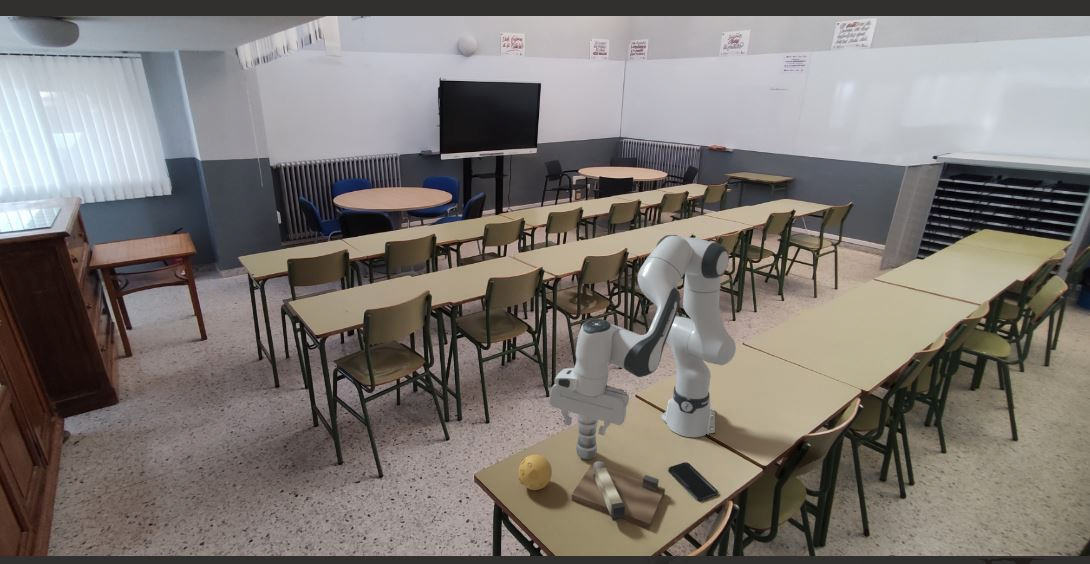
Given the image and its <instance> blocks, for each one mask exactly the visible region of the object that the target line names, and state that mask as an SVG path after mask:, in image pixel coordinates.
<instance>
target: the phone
mask: <svg viewBox="0 0 1090 564" xmlns="http://www.w3.org/2000/svg"><path fill="white" fill-rule="evenodd" d="M667 471H668V473H669V474H670V475H671V476H672V477H673V478H674V479H675V480H676V481H677V482H678V483H679V484H680V485H681V486H682V488H684V490H686V491H687V493H688V494H689V495H691V496H692V498H693V499H694V500H696V501H697V502H703V501H707V500H709V499H712V498H715V497H717V496H718V495H719V490H718V489H717V488H715V487H714V486H713V484H712V483H711V482H709V481H708V480H707V478H705V477H704V476H703V475H702V474H701V473H700V472H699V471H698V470H697V469H696V468H695V467H694V466H693V465H691V464H690V462H686V461H685V462H681V463H679V464H675V465H671V466H669V467H668V470H667Z"/></svg>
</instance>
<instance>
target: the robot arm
mask: <svg viewBox="0 0 1090 564" xmlns="http://www.w3.org/2000/svg"><path fill="white" fill-rule="evenodd" d="M729 260H730V254H729V252H728V249H727V247H725V246H724V245H722V244H720V243H719V242H718V243H717V242H716V241H715V242H712V241H709V240H706V239H702V238H699V237H690V236H681V235H678V234H668V235H664V236H663V237H661V238H660V239H659V240H658V242H657V244H656V246H655V248H654V249H653V250H652V251H651V252H650V254H649V255H648V257H647V258H646V259H645V261H644V262H643V264H642V265H641V267H640V268H639V270H638V274H637V284H638V287H639V289H640V290H641V292H642V294H643V295H644V296H645V297H646V298H647V299H648V300H649V301H650V302H651V303H652V304H654V305H655V306H656V307H657V308H656V312H655V313H654V314H655V315H654V317H653V319H652V322H651V325H650V327H649V330H648V331H647V333H645V334H638V333H636V332H633V331H631V330H628V329H627V328H623V327H621V326H618V325H615V324H611V323H610V322H609V321H608V320H606V319H603V318H591V319H588V320H585V321H584V322H583V323H582V325H581V327H580V330H579V332H578V336H577V340H576V341H577V342H576V346H575V347H576V348H575V358H576V360H575V365H574V367H569V368H563V369H561V370H560V371H559V372H558V374H557V375H556V377H554V384H553V385H552V386H551V389H550V393H549V398H548V403H549V405H550V407H552V408H556V409H559V410H561V415H562V417H563V419H564V423H563V424H564V425H565V426H569V427H570V426H571V424H572V420H573V418H572V416H570V415H569V413H573V414H576V415H578V414H580V415H583V416H587V417H591V418H594V419H598V421H601V422H602V421H603V424H604V425H600V426H599V428H598V435H601V436H605V435H606V431H607V428H609V426H610V425H611V424H614V425H615V426H620V425H622V424H623V423H624V422H625V420H626V418H627V406H629V405H628V404H629V402H630V401H629V400H630V396H629V394H628V393H627V392H626V391H625V390H624V389H622V388H617V387H614V386H610V385H608V381H609V375H610V372H609V371H610V370H609V365H610V364H612V365H614V366H616V367H618V368H620V369H621V368H622V369H623V370H625V371H626V372H628V373H629V374H632V375H633V376H635V377H637V378H643V377H647V376H649V375H651V374H653V373H655V371H656V370H657V369H658V367H659V365H660V362H661V358H662V355H663V351H664V347H665V344H666V343H667V344H668V346H669V348H670V350H671V352H672V355H673V358H674V360H675V361H674V362H675V366H676V367H675V368H676V375H675V376H676V377H675V386H674V387H673V391H672V396H671V398H669V399H668V402H667V406H666V407H667V408H666V411H664V413H662V414H661V416H660V420H661V421H662V422H664V421H665V422H666V423H667V424H666V423H665V422H664V423H665V424H666V425H667V428H669V430H671V431H672V432H673V433H675V434H677V435H679V436H683V437H686V438H687V437H688V438H700V437H703V436H707V435H709V434H708V433H714V432H715V433H716V411H715V410H716V409H715V410H712V409H714V407H712V408H711V409H710V407H711V399H710V397H711V396H710V383H711V370H710V368H709V367H708V365H707V364H706V363H709V364H713V365H718V366H724V365H727V364H728V363H730V362H731V361H732V360H733V358H734V357H735V354H736V350H737V348H736V342H735V339H734V338H733V337H732V336H731V334H729V331H727V329H726V326H725V324H724V322H723V319H722V316H721V312H720V297H721V296H720V295H721V283H722V278H721V277H722V275H724V274H725V273H726V270H727V268H728V267H729V266H728V265H729ZM683 277H684V282H683V296H682V297H683V298H682V307H683V310H684V311H685V313H686V315H688V317H684V316H678V315H677V313H678V311H679V308H680V303H681V293H680V291H679V290H678V286H679V283H680V282H681V280H682V279H683ZM689 317H690V318H689ZM714 411H715V412H714ZM568 412H569V413H568ZM711 415H713V416H711ZM711 428H713V429H711ZM706 434H707V435H706Z"/></svg>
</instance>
